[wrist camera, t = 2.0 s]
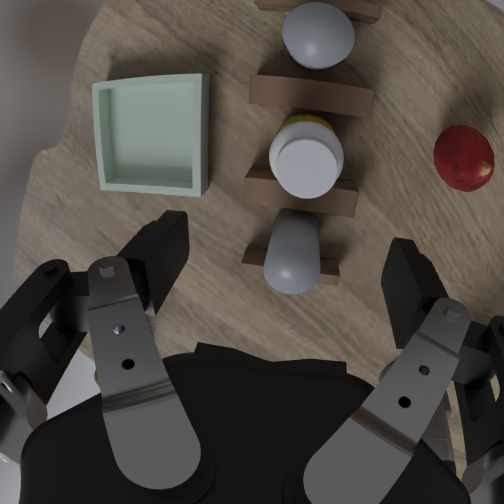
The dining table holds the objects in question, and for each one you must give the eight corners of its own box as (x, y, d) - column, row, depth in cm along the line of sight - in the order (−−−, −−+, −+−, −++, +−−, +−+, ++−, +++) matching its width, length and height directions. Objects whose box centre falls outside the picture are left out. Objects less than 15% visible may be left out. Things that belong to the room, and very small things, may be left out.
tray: (210, 73, 25) (201, 73, 23) (208, 188, 31) (200, 197, 29) (105, 81, 26) (92, 83, 24) (112, 181, 32) (100, 190, 30)
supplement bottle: (304, 100, 25) (303, 109, 17) (347, 140, 26) (366, 170, 18) (265, 141, 28) (246, 171, 19) (308, 179, 29) (308, 224, 21)
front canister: (342, 27, 21) (356, 8, 14) (339, 74, 23) (352, 71, 16) (290, 21, 21) (284, -1, 14) (287, 67, 24) (280, 61, 17)
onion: (463, 181, 25) (502, 214, 19) (417, 169, 26) (449, 201, 19) (475, 128, 22) (520, 148, 16) (427, 112, 23) (466, 127, 16)
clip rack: (373, 12, 19) (381, 5, 17) (335, 269, 33) (337, 285, 31) (260, -1, 20) (255, -10, 18) (245, 257, 35) (240, 272, 32)
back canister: (321, 209, 30) (325, 251, 23) (314, 249, 33) (315, 297, 26) (275, 203, 31) (265, 243, 24) (271, 243, 33) (261, 290, 26)
